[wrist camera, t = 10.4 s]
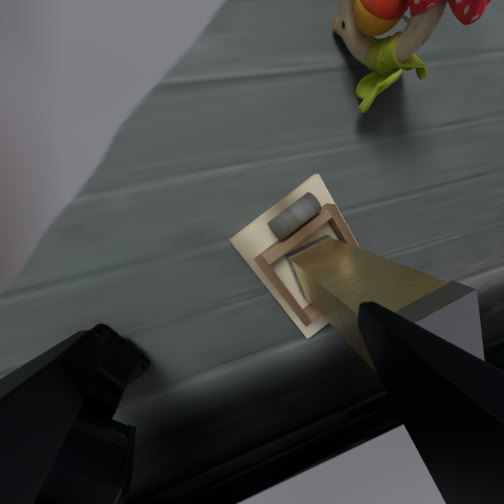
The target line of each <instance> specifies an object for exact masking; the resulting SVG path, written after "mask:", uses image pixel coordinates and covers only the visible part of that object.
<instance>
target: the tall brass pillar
mask: <svg viewBox="0 0 504 504" xmlns="http://www.w3.org/2000/svg"><path fill="white" fill-rule="evenodd" d="M284 256H285V258H286V260H287V263H288V265H289V268H290V270H291V272H292V275H293V277H294V280H295V282H296V284H297V287H298V289H299V292H300V294H301V295H302V296H303V297H304V298H305V297H306V298H307V299H308V301H309V302H310V303H311V304H312V305H313V306H314V307H315V308H316V309H317V310H318V311H319V312H320V313H321V314H322V316H323V317H324V318H325V319H326V320H327V321H328V322H329V323H330V324H331V325H332V326H333V327H334V328H335V329H336V331H337V332H338V333H339V334H340V335H341V336H342V337H343V338H344V339H345V340H346V341H347V342H348V343H349V344H350V346H351V347H352V348H353V349H354V350H355V351H356V352H357V353H358V354H359V355H360V356H361V357H362V358H363V359H364V361H365V362H366V363H367V364H368V365H369V366H370V367H371V368H372V369H373V370H374V371H375V372H376V370H375V368H374V365H373V363H372V360H371V358H370V355H369V353H368V351H367V348H366V346H365V343H364V341H363V338H362V336H361V333H360V331H359V328H358V324H357V320H358V311H359V305H360V303H361V302H368V301H374V302H376V303H378V304H380V305H382V306H383V307H385V308H387V309H389V310H391V311H393V312H395V313H396V314H398V315H400V316H402V317H404V318H406V319H408V320H409V321H411V322H413V323H415V324H417V325H419V326H420V327H422V328H424V329H426V330H428V331H430V332H432V333H433V334H435V335H437V336H439V337H441V338H443V339H445V340H446V341H448V342H450V343H452V344H454V345H456V346H457V347H459V348H461V349H463V350H465V351H467V352H469V353H470V354H472V355H474V356H476V357H478V358H480V359H482V360H483V361H484V353H483V344H482V334H481V325H480V316H479V307H478V298H477V289H474V288H471V287H468V286H466V285H463V284H460V283H458V282H455V281H452V282H450V283H449V282H446V281H444V280H441V279H438V278H436V277H433V276H431V275H428V274H425V273H423V272H420V271H417V270H415V269H412V268H409V267H407V266H404V265H402V264H399V263H396V262H394V261H391V260H388V259H386V258H383V257H381V256H378V255H375V254H373V253H370V252H367V251H365V250H362V249H360V248H357V247H354V246H352V245H349V244H346V243H344V242H341V241H339V240H336V239H333V238H332V236H330V235H327V234H326V235H324V236H322V237H320V238H318V239H316V240H314V241H312V242H310V243H308V244H306V245H304V246H302V247H300V248H298V249H296V250H294V251H292V252H290V253H288V254H286V255H284ZM376 373H377V372H376Z"/></svg>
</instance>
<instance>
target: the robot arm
mask: <svg viewBox="0 0 504 504" xmlns="http://www.w3.org/2000/svg"><path fill="white" fill-rule="evenodd" d="M357 324H358V328H359V331H360V333H361V336H362V338H363V341H364V343H365V346H366V348H367V351H368V353H369V355H370V358H371V360H372V363H373V365H374V368H375V370H376V372H377V374H378V376H379V378H380V380H381V382H382V384H383V386H384V388H385V390H386V392H387V394H388V396H389V397H390V399H391V401H392V403H393V405H394V407H395V409H396V411H397V412H398V414H399V416H400V418H401V420H402V422H403V424H404V426H405V428H406V429H407V431H408V433H409V435H410V437H411V439H412V440H413V443H414V444H415V446H416V448H417V450H418V452H419V454H420V456H421V458H422V459H423V461H424V463H425V465H426V467H427V469H428V471H429V473H430V475H431V476H432V478H433V480H434V482H435V484H436V486H437V488H438V490H439V491H440V493H441V495H442V497H443V499H444V501H445V503H446V504H504V371H502V370H500V369H498V368H496V367H494V366H493V365H491V364H489V363H487V362H485V361H483V360H482V359H480V358H478V357H476V356H474V355H472V354H470V353H469V352H467V351H465V350H463V349H461V348H459V347H457V346H456V345H454V344H452V343H450V342H448V341H446V340H445V339H443V338H441V337H439V336H437V335H435V334H433V333H432V332H430V331H428V330H426V329H424V328H422V327H420V326H419V325H417V324H415V323H413V322H411V321H409V320H408V319H406V318H404V317H402V316H400V315H398V314H396V313H395V312H393V311H391V310H389V309H387V308H385V307H383V306H382V305H380V304H378V303H376V302H374V301H368V302H361V303H360V305H359V311H358V320H357ZM98 328H100V329H101V330H102V331H99V330H98ZM142 365H146V366H142ZM149 366H150V362H149V361H148V360H147V359H146V358H144V357H143V356H142V355H141V354H140V353H139V352H138V351H137V350H135V349H134V348H133V347H132V346H131V345H129V344H128V343H127V342H126V341H125V340H123V339H122V338H121V337H119V336H118V335H117V334H115V333H114V332H113V331H112V330H111V329H109V328H108V327H107V326H106V325H104V324H97V325H96V326H94V327H93V328H92V329H90V330H84V331H79V332H77V333H75V334H74V335H72V336H70V337H69V338H67V339H65V340H64V341H62V342H61V343H59V344H57V345H56V346H54V347H52V348H51V349H49V350H47V351H46V352H44V353H43V354H41V355H39V356H38V357H36V358H34V359H33V360H31V361H29V362H28V363H26V364H24V365H23V366H21V367H20V368H18V369H16V370H15V371H13V372H11V373H10V374H8V375H6V376H5V377H3V378H1V379H0V504H123V503H124V501H125V498H126V496H127V493H128V490H129V487H130V483H131V479H132V472H133V460H134V446H135V431H136V427H134V426H132V425H128V426H127V425H125V424H123V423H120V422H118V421H116V420H113V419H112V418H113V416H114V414H115V413H116V410H117V408H118V405H119V403H120V400H121V398H122V395H123V393H124V390H125V388H126V387H127V385H128V384H130V383H131V382H132V381H133V380H135V379H136V378H137V377H139V376H140V375H141V374H143V373H144V372H145V371H147V370H148V369H149Z"/></svg>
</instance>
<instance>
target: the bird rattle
mask: <svg viewBox="0 0 504 504" xmlns="http://www.w3.org/2000/svg"><path fill="white" fill-rule="evenodd" d="M490 1H491V0H339V12H338V16H337V18H336V20H335V23H334V26H333V30H334V31H335V33H337V34H338V35H340V36H341V37H342V38H343V41H344V43H345V45H346V47H347V48H348V50H349V51H350V53H351V54H352V55H353V56H354V57H355V58H356V59H357V60H358V61H359V62H361V63H362V64H364V65H366V66H367V67H368V69H369V70H372V71H373V72H372V73H369V74H368V75H366V76H365V77H364V78H363V79H361V81H360V82H359V83H358V85H357V89H356V96H357V97H358V98H360V99H363V101H362V103H361V104H360V105H359V107H358V109H359V110H360V111H361V112H362V113H364V112H366V111H367V110H368V108H369V107H370V105H371V104H372V102H373V101H374V99H375V98H376V96H377V95H378V94H379V93H380V92H382V91H383V90H385V89H386V88H388V87H389V86H390V85H391V84H393V83H394V82H395V81H397V80H398V78H399V77H400V76H401V74H402V72H403V69H405V70H406V71H407V70H411V69H413V68H416V73H417V76H418V78H419V79H421V80H422V79H423V78H425V77H426V76H427V74H428V71H427V66H426V65H425V64H424V63H423V62H422V61H421V60H420V59H419V58H418V56H417V55H416V54H415V52H416V51H417V50H418V49H419V48H420V47H421V46H422V45H423V44H424V43H425V42H426V40H427V39H428V38H429V36H430V35H431V34H432V32H433V31H434V29H435V27H436V26H437V24H438V22H439V21H440V19H441V16H442V14H443V12H444V10H445V7H446V4H447V2H448V3H449V5H450V7H451V10H452V12H453V14H454V15H455V16H456V17H457V19H458V20H459V21H460V22H461V23H462V24H464V25H469V24H471V23H474V22H475V21H477V20H478V19H479V18H480V17H481V15H482V14H483V12H484V9H485V7H486V6H487V4H488V3H489V2H490ZM409 5H410V14H411V18H410V19H409V18H408V17H406V16H405V15H404V13H405V12H406V11H407V9H408V7H409ZM401 18H403V19H404V21H405V22H406V23H408V25H407V26H406V28H405V30H404V31H403V32H396V33H395V34H394V35H393V36H388V37H387V38H382V39H377V38H375V37H374V36H379V35H381V34H384V33H386V32H387V31H389V30H390V29H391V28H393V27H394V26H395V25H396V24H397V23H398V22H399V21H400V20H401Z"/></svg>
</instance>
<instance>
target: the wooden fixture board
mask: <svg viewBox="0 0 504 504" xmlns="http://www.w3.org/2000/svg"><path fill="white" fill-rule="evenodd" d="M326 234H327V235H330V236H332V238H333V239H336V240H339V241H341V242H344V243H346V244H349V245H352V246H354V247H357V248H360V247H359V245H358V244H357V242H356V240H355V238H354V236H353V235H352V233H351V231H350V229H349V227H348V226H347V224H346V222H345V220H344V218H343V217H342V215H341V213H340V211H339V210H338V208H337V206H336V204H335V202H334V201H333V199H332V197H331V195H330V193H329V192H328V190H327V188H326V186H325V184H324V183H323V181H322V179H321V177H320V175H319V174H314V175H313V176H312V177H310V178H309V179H308V180H306V181H305V182H304V183H303V184H301V185H300V186H299V187H297V188H296V189H295V190H293V191H292V192H291V193H289V194H288V195H287V196H286V197H284V198H283V199H282V200H280V201H279V202H278V203H276V204H275V205H274V206H272V207H271V208H270V209H269V210H267V211H266V212H265V213H263V214H262V215H261V216H259V217H258V218H257V219H255V220H254V221H253V222H252V223H250V224H249V225H248V226H246V227H245V228H244V229H242V230H241V231H240V232H239V233H237V234H236V235H235V236H233V237H232V238H231V239H229V240H230V242H231V243H232V244H233V246H234V247H235V248H236V249H237V251H238V252H239V253H240V254H241V256H242V257H243V258H244V260H245V261H246V262H247V263H248V265H249V266H250V267H251V268H252V270H253V271H254V272H255V273H256V275H257V276H258V277H259V278H260V280H261V281H262V282H263V284H264V285H265V286H266V287H267V289H268V290H269V291H270V292H271V294H272V295H273V296H274V297H275V299H276V300H277V301H278V302H279V304H280V305H281V306H282V308H283V309H284V310H285V311H286V313H287V314H288V315H289V316H290V318H291V319H292V320H293V321H294V323H295V324H296V325H297V326H298V328H299V329H300V330H301V332H302V333H303V334H304V335H305V337H306V338H307V339H308V338H310V337H311V336H312V335H314V334H315V333H316V332H317V331H319V330H320V329H321V328H323V327H324V326H325V325H327V324H328V323H329V322H328V321H327V320H326V319H325V318H324V317H323V316H322V314H321V313H320V312H319V311H318V310H317V309H316V308H315V307H314V306H313V305H312V304H311V303H310V302H309V301H308V299H307V298H306V297H305V298H304V297H303V296H302V295H301V294H300V292H299V289H298V287H297V284H296V282H295V280H294V277H293V275H292V272H291V270H290V268H289V265H288V263H287V260H286V258H285V256H284V255H286V254H288V253H290V252H292V251H294V250H296V249H298V248H300V247H302V246H304V245H306V244H308V243H310V242H312V241H314V240H316V239H318V238H320V237H322V236H324V235H326Z"/></svg>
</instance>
